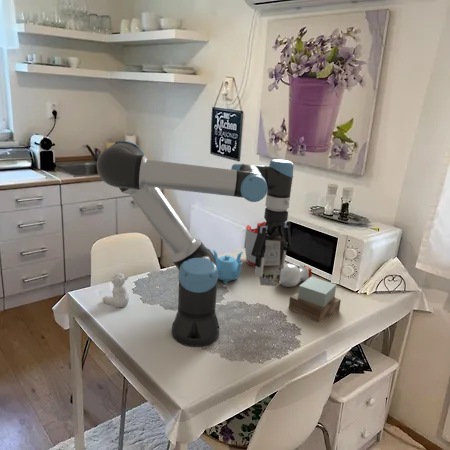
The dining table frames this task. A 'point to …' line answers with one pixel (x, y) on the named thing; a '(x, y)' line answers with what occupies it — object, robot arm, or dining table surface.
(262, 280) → the coffee box
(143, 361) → the dining table surface
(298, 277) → the potion bottle
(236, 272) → the teapot
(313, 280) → the tower top
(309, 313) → the tower base
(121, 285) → the sitting furry creature
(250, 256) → the citrus juicer
